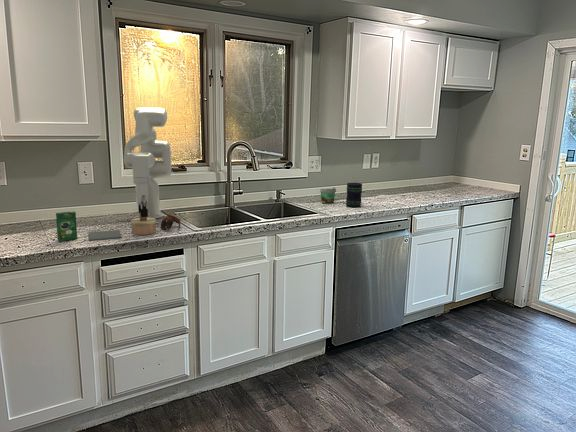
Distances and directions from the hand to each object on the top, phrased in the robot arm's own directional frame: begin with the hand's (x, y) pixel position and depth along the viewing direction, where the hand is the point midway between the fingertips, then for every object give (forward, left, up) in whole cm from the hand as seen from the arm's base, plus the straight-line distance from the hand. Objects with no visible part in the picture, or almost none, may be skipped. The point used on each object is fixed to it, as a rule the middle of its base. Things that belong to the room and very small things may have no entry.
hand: (143, 214), depth 224 cm
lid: (0, 0, -4) cm, 4 cm away
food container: (-36, +124, -9) cm, 129 cm away
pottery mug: (-4, +13, -9) cm, 17 cm away
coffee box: (+2, -34, -9) cm, 35 cm away
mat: (0, -18, -9) cm, 20 cm away
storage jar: (-22, +134, -9) cm, 136 cm away
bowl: (0, 0, -9) cm, 9 cm away
